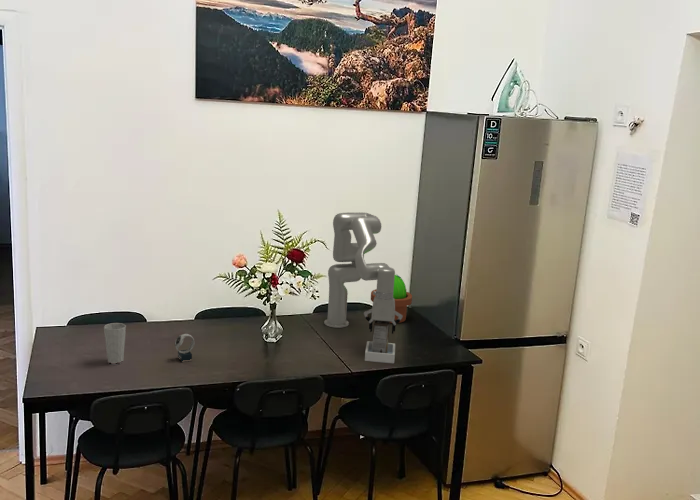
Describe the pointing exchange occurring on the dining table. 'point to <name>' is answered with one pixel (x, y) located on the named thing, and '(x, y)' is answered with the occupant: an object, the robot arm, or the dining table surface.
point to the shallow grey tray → (380, 354)
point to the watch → (184, 353)
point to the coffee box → (380, 336)
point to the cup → (115, 341)
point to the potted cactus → (399, 297)
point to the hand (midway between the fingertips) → (381, 331)
